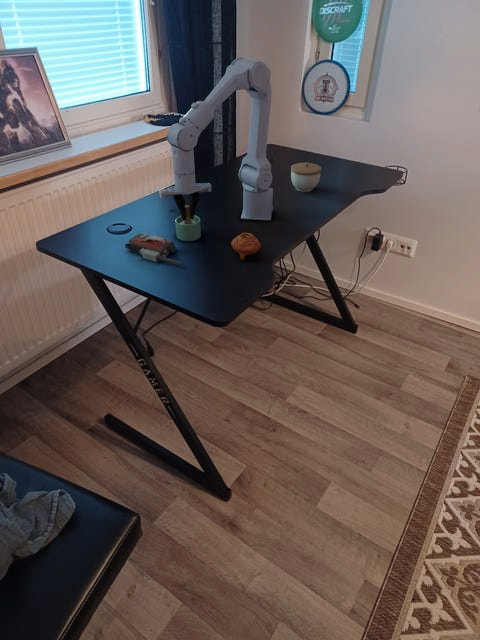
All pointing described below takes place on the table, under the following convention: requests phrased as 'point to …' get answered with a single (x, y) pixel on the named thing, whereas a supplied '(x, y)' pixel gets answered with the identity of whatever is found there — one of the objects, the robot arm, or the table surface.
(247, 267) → the table surface
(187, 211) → the rubber stamp
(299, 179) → the trinket box
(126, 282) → the table surface
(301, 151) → the table surface
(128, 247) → the red grey blocky piece
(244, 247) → the pot
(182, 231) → the bucket
